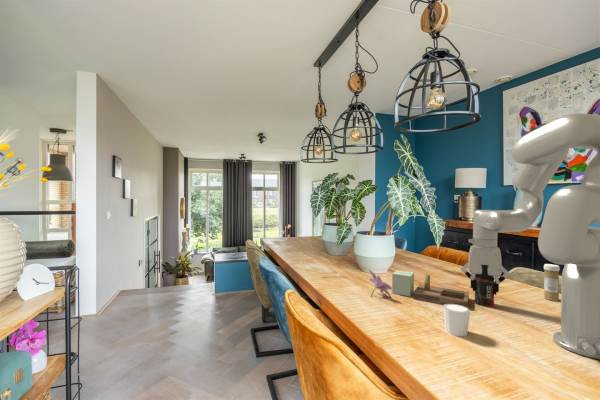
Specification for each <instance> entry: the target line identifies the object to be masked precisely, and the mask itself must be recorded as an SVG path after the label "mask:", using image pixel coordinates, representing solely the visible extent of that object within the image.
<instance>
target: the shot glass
mask: <svg viewBox="0 0 600 400" xmlns="http://www.w3.org/2000/svg"><path fill="white" fill-rule="evenodd" d="M442 309H443V317H444V319H443V320H444V330H445V332H446V333H447V334H450V335H451V336H455V337H467V335H468V330H469V322H470V315H471V310H470V308H469V307H468V308H467V307H464V306H461V305H457V304H445V305H443V304H442Z"/></svg>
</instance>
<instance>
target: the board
mask: <svg viewBox="0 0 600 400" xmlns="http://www.w3.org/2000/svg"><path fill="white" fill-rule="evenodd" d="M423 283H424V284H422V283H421V284H418V286H416V288H414V292H413V294H412V299H413V300H417V301H423V302H429V303H432V304H433V303H434V304H438V305H442V306H443V305H445V304H457V305H461V306H464V307H467V308H468V309H469V307H468V306H469V298H470V293H469V292H468V291H464V290H457V289H451V288H445V287H438V286H432V285H431V274H428V273H425V274H424V282H423Z"/></svg>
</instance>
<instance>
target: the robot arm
mask: <svg viewBox="0 0 600 400" xmlns="http://www.w3.org/2000/svg"><path fill="white" fill-rule="evenodd" d="M570 149H580V150H594V151H596V154H595V155H594V156H593V157H592V158H591V160H590V161H589V162H588V164H587V166H586V168H585V172H584V175H583V178H582V180H581V183H580V184H574V185H573V184H572V185H567V186H563V187H561V188H559V189H558V190H556V191H555V192H554V193H553V194H552V195H551V197H550V198H549V200H548V201H547V204H546V208H545V211H544V214H543V220H542V223H541V226H540V229H539V234H538V239H537V245H538V250H539V253H540V254H541V256H542V257H543V258H544V259H545V260H547V261H548V262H551V263H553V264H555V265H563V266H564V267H563V270H562V273H561V286H560V287H561V289H560V290H561V291H560V297H561V298H560V331H557V332H554V333H553V334H552V339H553V341H554V343H556V344H557V345H558V346H560V347H561V348H563V349H565V350H568V351H570V352H572V353H574V354H577V355H580V356H584V357H587V358H591V359H597V360H600V227H597V226H590V224H600V114H591V113H582V112H581V113H579V112H578V113H577V112H576V113H570V114H566V115H562V116H560V117H557V118H556V119H554V120H552V121H549V122H547V123H545V124H544V125H542V126H539V127H538V128H536V129H534V130H531V131H530V132H528V133H526V134H524V135H523V136H521V137H520V138H519V139H518V140H516V142H515V143H513V146H512V148H511V153H510V154H511V158H512V159H513V161H514V162H516V163H518V164H520V166H519V167H518V169H517V171H516V173H515V174H514V175H513V177H512V179H511V184H512V185H513V186H514V187H515V188H517V189H518V190H519V191H521V192H522V198H521V201H520V203H519V204H518V205H517V207H516V208H515V209H510V210H509V209H506V210H505V209H504V210H502V209H498V210H492V209H491V210H490V209H475V210H474V211H473V217H472V218H473V219H472V221H473V223H472V238H468V243H470V244H471V245H470V248H469V251H468V252H469V253H468V262H467V263H465V264H464V265H463V266H461V267H460V270H461V271H462V272H463V274H465V275H466V276H467V278H468V279H469V280H470V289H472V291H473V292H475V275H476V274H482V268H481V267H482V266H481V264H482V265H488V275H490V276H493V277H494V296H495V295H496V296H497V293H499V289H500V284H501V283H502V282H503V281H505V280H506V279H508V278H509V277H511V272H509V271H508V270H507V269H506V268H505V267H504V266H503V265H502V263H503V262H502V254H501V249H500V248H499V247H498V233H519V232H520V233H521V232H525V231H527V230H528V229H530V228H531V227H532V226H533V224H534V223H535V222H536V221H537V219H538V218H539V216H540V215H541V214H542V211H543V207H544V200H545V199H544V193H543V192H544V190H545V188H546V187H547V185H548V184H549V182H550V181H551V180H552V178H553V176H554V175H555V174H556V172H557V171H558V170H559V168H560V167H561V165H562V163H563V162H564V160H565V159H566V158H567V156H568V153H569V152H570ZM467 269H468V270H467ZM502 273H503V275H502Z"/></svg>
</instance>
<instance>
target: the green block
mask: <svg viewBox="0 0 600 400" xmlns="http://www.w3.org/2000/svg"><path fill="white" fill-rule="evenodd" d="M391 280H392V285H391V287H392V288H393V289H391V290H392V291H391V292H392V294H395V295H400V296H405V297H412V296H413V292H414V291H415V272H413V271H405V270H399V269H398V270H397V269H396V270H395V271H394V272H393V273H392V279H391Z"/></svg>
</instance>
